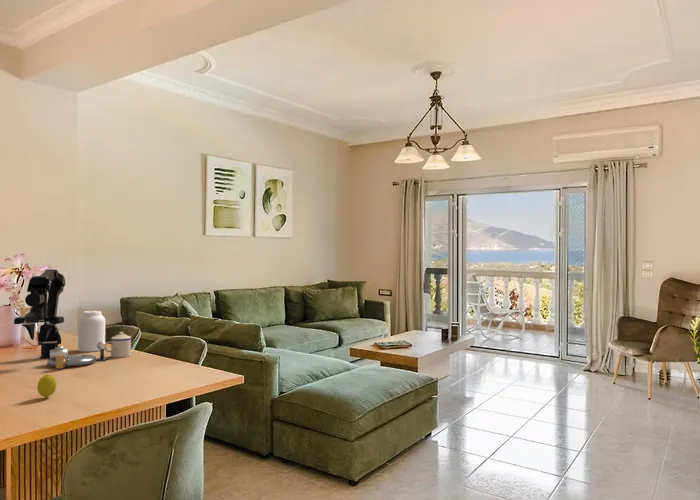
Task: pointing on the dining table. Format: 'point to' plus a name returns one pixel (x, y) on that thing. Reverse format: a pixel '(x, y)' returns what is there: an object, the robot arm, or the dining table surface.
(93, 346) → the white jar
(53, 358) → the cover
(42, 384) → the lemon
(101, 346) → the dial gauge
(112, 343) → the teacup with lid
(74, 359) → the platter
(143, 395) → the dining table surface
